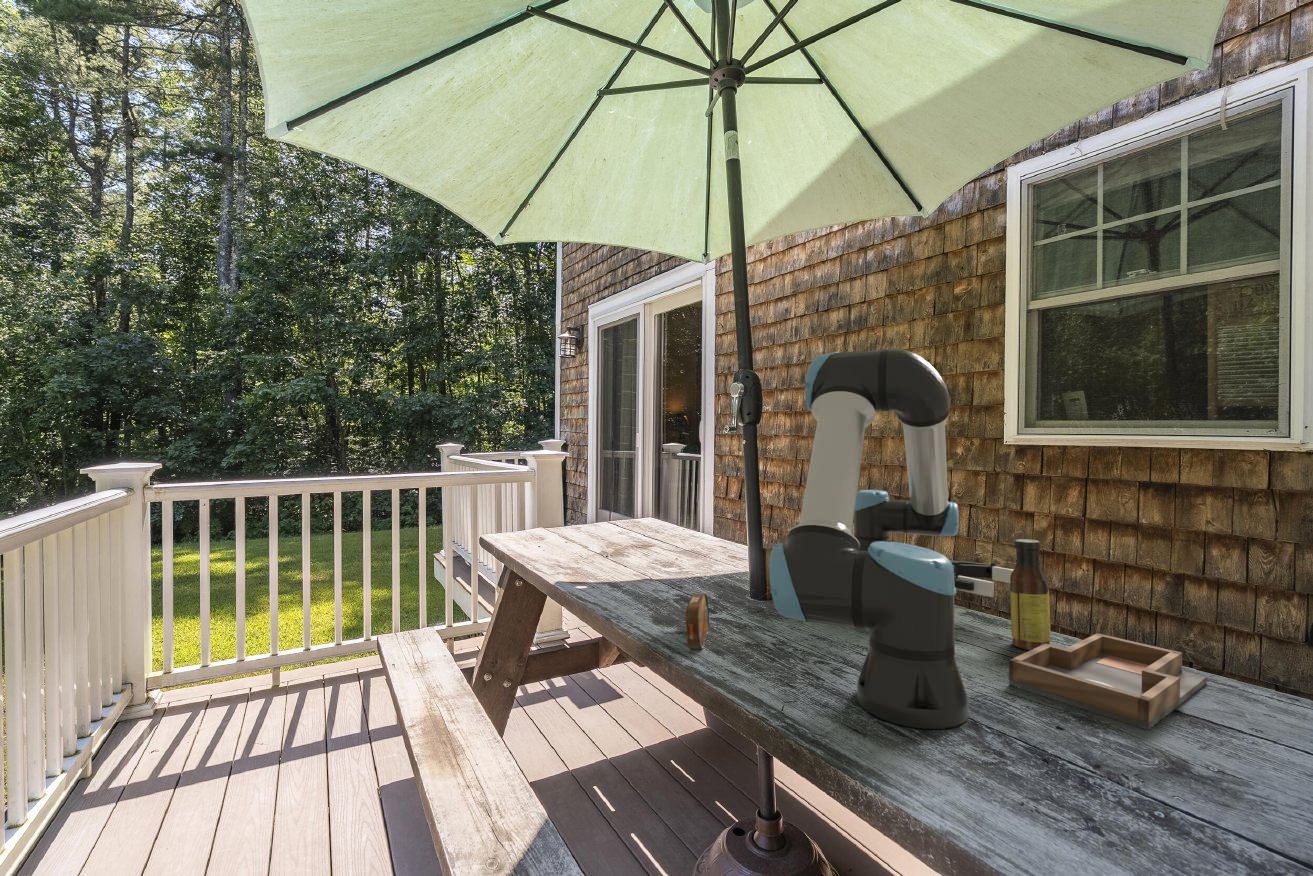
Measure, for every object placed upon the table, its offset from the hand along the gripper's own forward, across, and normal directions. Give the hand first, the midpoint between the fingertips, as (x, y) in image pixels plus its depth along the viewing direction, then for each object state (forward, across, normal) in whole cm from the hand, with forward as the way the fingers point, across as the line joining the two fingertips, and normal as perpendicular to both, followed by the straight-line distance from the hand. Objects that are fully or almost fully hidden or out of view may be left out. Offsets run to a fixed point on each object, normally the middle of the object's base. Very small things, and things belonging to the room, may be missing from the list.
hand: (1010, 584), depth 118 cm
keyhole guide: (+19, +9, -11) cm, 23 cm away
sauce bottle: (+4, +1, -11) cm, 12 cm away
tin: (-36, +48, -11) cm, 61 cm away
